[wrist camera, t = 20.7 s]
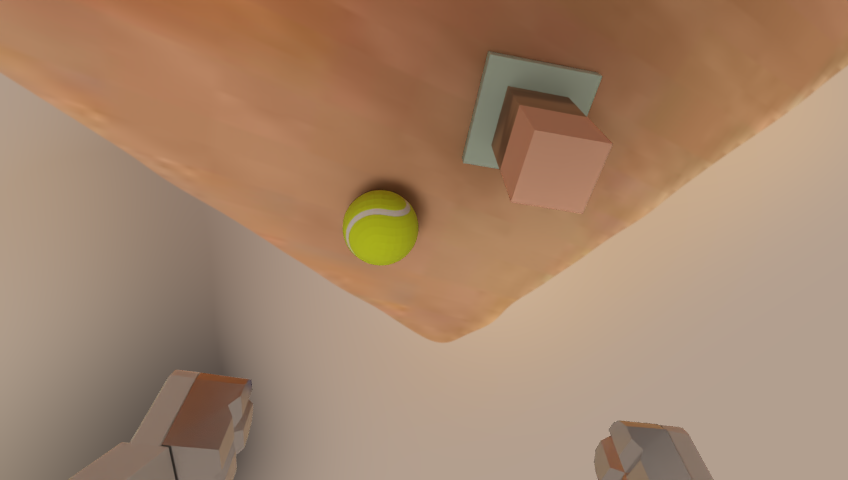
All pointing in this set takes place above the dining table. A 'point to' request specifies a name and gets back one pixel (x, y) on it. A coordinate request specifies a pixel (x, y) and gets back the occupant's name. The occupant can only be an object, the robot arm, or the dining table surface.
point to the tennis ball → (380, 227)
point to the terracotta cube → (553, 159)
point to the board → (526, 76)
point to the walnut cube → (530, 99)
